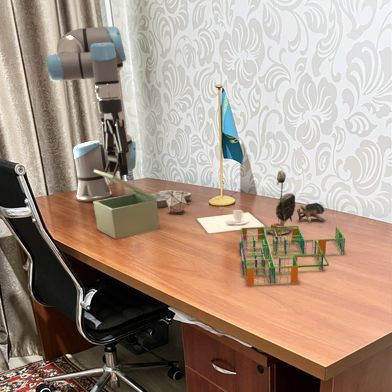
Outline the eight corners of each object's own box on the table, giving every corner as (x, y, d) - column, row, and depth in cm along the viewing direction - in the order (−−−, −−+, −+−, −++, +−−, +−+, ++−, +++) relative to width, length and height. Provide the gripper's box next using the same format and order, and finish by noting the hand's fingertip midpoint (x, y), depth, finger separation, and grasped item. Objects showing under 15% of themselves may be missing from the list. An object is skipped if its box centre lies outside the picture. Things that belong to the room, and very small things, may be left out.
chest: (115, 239, 175) (111, 209, 170) (97, 229, 187) (93, 201, 182) (159, 228, 182) (156, 200, 177) (139, 219, 194) (136, 193, 189)
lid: (112, 178, 166) (121, 155, 165) (93, 171, 178) (101, 150, 177) (156, 200, 177) (164, 179, 176) (135, 192, 189) (143, 173, 188)
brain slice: (176, 195, 226) (176, 188, 225) (196, 201, 213) (196, 194, 212) (136, 203, 218) (135, 196, 216) (154, 210, 205) (153, 203, 203)
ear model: (227, 227, 179) (227, 215, 177) (221, 221, 185) (221, 209, 183) (251, 224, 180) (251, 212, 178) (245, 218, 187) (245, 207, 185)
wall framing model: (238, 243, 163) (238, 228, 160) (333, 238, 161) (334, 222, 159) (244, 286, 132) (243, 268, 130) (360, 280, 131) (362, 262, 128)
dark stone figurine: (302, 230, 170) (304, 167, 160) (274, 237, 165) (275, 173, 155) (286, 225, 176) (288, 164, 166) (259, 232, 172) (259, 169, 162)
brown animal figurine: (298, 222, 175) (325, 216, 172) (295, 201, 175) (322, 196, 173) (300, 228, 182) (326, 223, 180) (297, 208, 183) (323, 203, 180)
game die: (177, 223, 200) (166, 207, 191) (167, 211, 205) (156, 195, 196) (195, 209, 199) (185, 192, 191) (186, 198, 204) (175, 180, 196)
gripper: (86, 99, 170) (96, 171, 181) (111, 101, 154) (121, 179, 165) (107, 97, 173) (116, 167, 184) (134, 98, 157) (142, 175, 169)
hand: (118, 173), depth 175 cm, fingers closed on lid, 8 cm apart
